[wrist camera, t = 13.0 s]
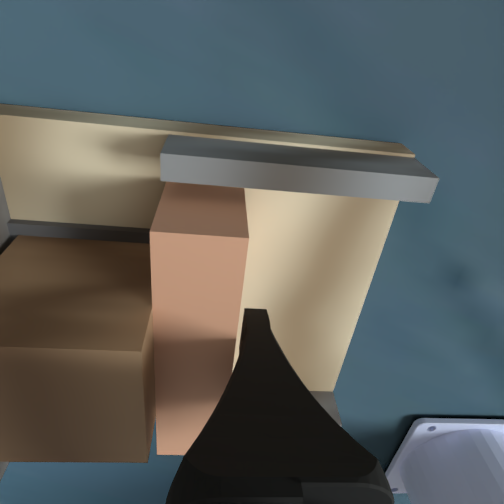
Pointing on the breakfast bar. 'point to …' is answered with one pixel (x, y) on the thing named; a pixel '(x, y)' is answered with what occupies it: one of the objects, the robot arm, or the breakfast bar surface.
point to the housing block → (76, 351)
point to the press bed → (257, 207)
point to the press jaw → (195, 304)
